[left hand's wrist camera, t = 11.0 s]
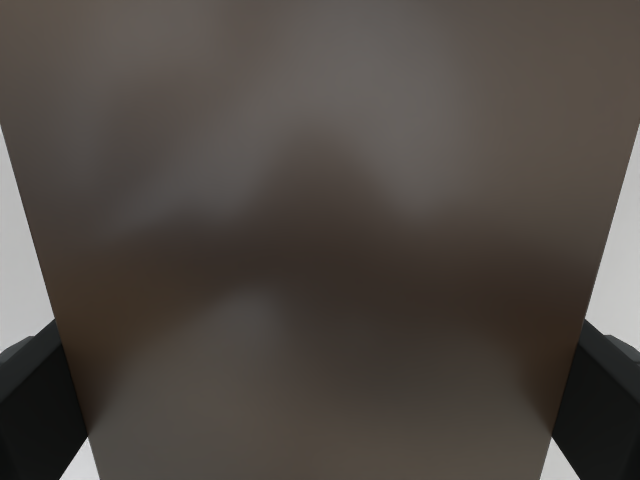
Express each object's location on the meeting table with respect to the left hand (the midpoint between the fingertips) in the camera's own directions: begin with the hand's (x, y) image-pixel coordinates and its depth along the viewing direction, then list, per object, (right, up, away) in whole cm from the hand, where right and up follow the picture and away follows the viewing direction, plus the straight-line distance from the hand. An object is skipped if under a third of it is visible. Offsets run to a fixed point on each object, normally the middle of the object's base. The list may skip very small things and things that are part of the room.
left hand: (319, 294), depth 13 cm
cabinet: (0, +5, +2) cm, 5 cm away
